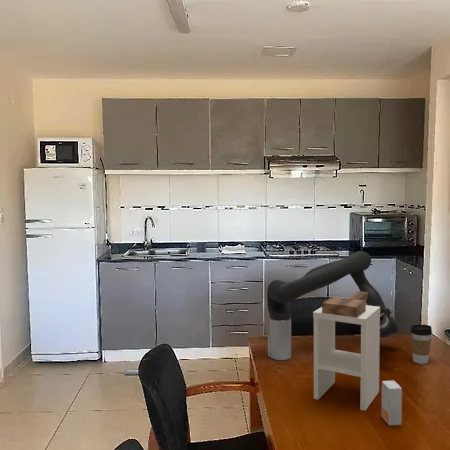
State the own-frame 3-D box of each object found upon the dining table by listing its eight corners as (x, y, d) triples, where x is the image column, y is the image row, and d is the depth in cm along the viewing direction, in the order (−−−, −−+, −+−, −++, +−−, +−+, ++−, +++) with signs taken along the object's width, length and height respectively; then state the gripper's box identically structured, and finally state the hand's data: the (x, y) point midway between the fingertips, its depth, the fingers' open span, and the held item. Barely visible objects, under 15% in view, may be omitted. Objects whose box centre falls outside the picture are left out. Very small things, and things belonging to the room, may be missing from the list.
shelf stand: (313, 399, 170) (313, 312, 168) (331, 381, 185) (331, 300, 183) (364, 411, 161) (365, 319, 158) (379, 391, 176) (380, 306, 173)
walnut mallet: (322, 312, 166) (322, 302, 166) (347, 296, 190) (347, 287, 189) (356, 317, 160) (356, 307, 160) (379, 299, 183) (379, 290, 183)
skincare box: (380, 416, 157) (381, 380, 156) (393, 416, 157) (394, 380, 156) (388, 426, 151) (389, 388, 150) (402, 425, 151) (402, 387, 150)
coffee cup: (433, 365, 199) (434, 329, 198) (411, 364, 201) (412, 328, 200) (429, 358, 207) (429, 323, 206) (408, 357, 209) (408, 323, 208)
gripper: (362, 307, 210) (351, 295, 198) (396, 311, 202) (388, 299, 190) (359, 324, 207) (348, 313, 195) (393, 328, 200) (385, 317, 187)
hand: (368, 306), depth 192 cm, fingers open, 8 cm apart
